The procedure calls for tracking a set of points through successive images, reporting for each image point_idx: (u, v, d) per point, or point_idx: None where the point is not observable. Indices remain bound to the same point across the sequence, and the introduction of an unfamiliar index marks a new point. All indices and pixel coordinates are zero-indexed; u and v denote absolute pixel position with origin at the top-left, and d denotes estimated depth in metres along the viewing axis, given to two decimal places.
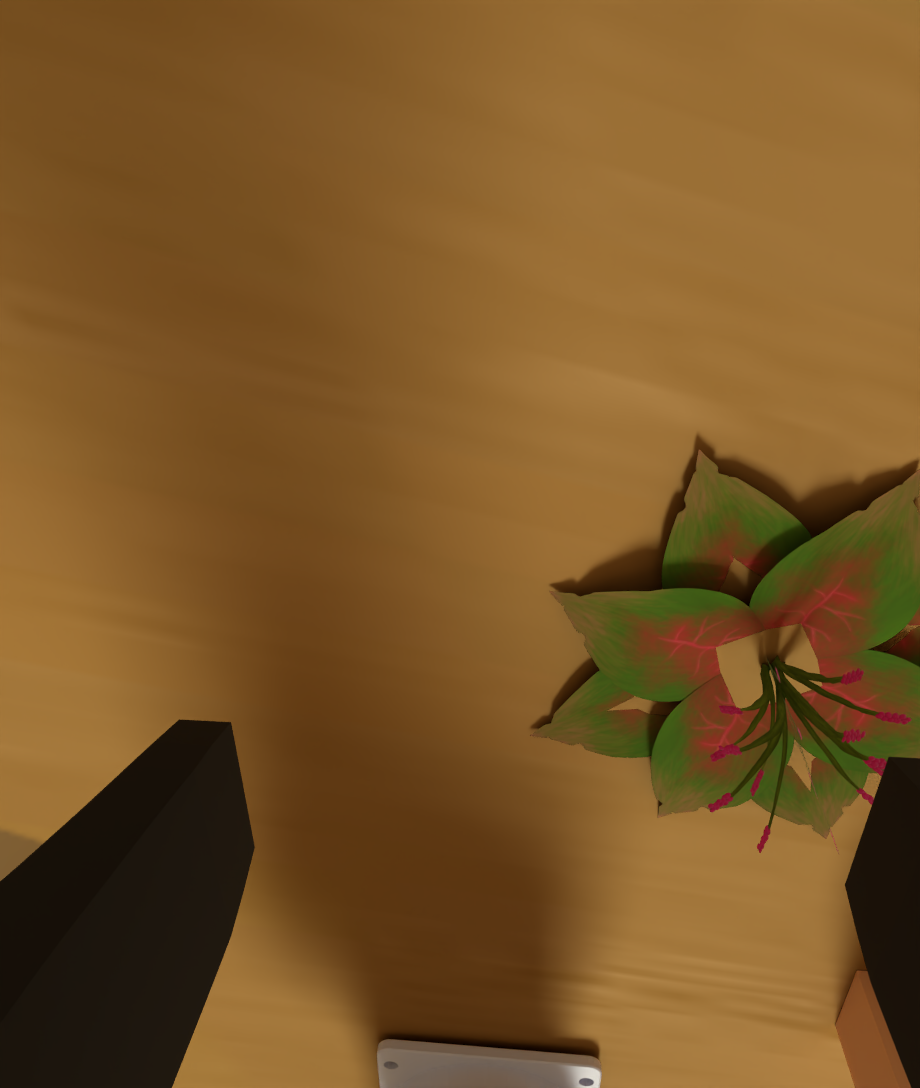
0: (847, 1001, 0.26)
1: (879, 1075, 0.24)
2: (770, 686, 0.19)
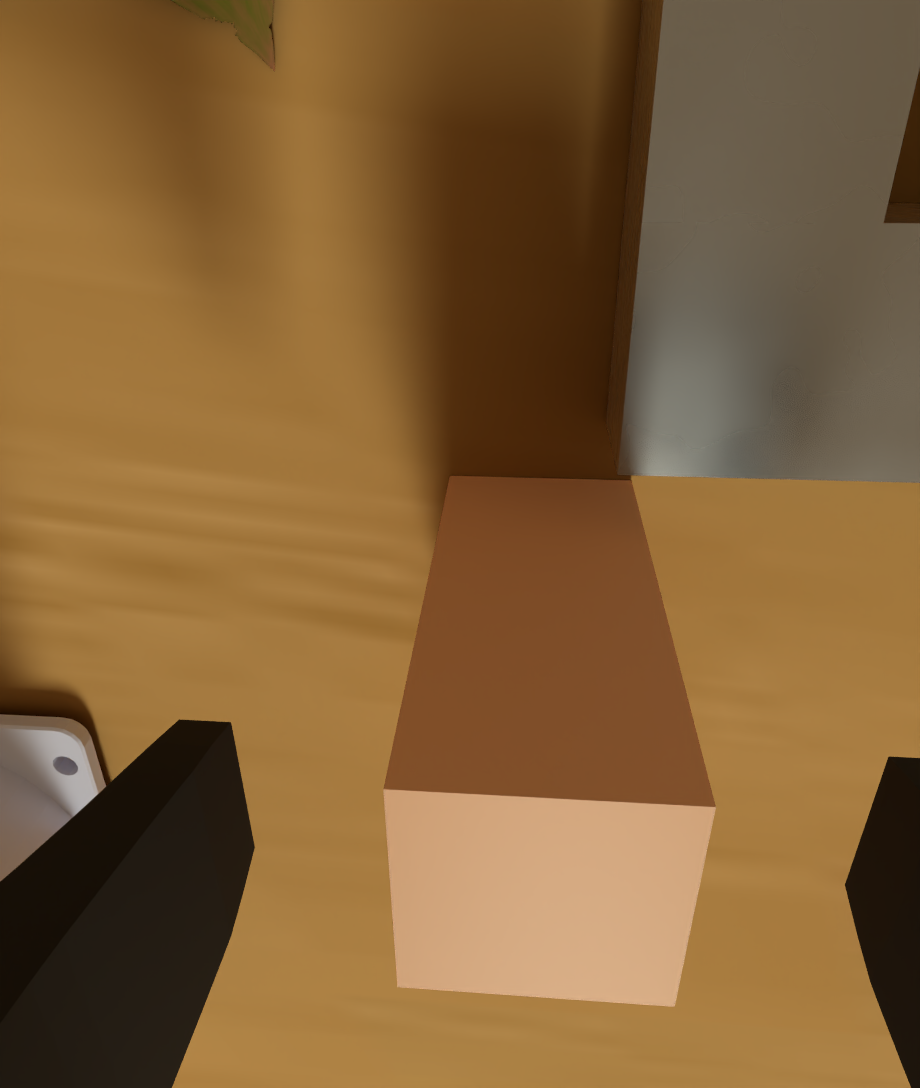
0: None
1: None
2: None
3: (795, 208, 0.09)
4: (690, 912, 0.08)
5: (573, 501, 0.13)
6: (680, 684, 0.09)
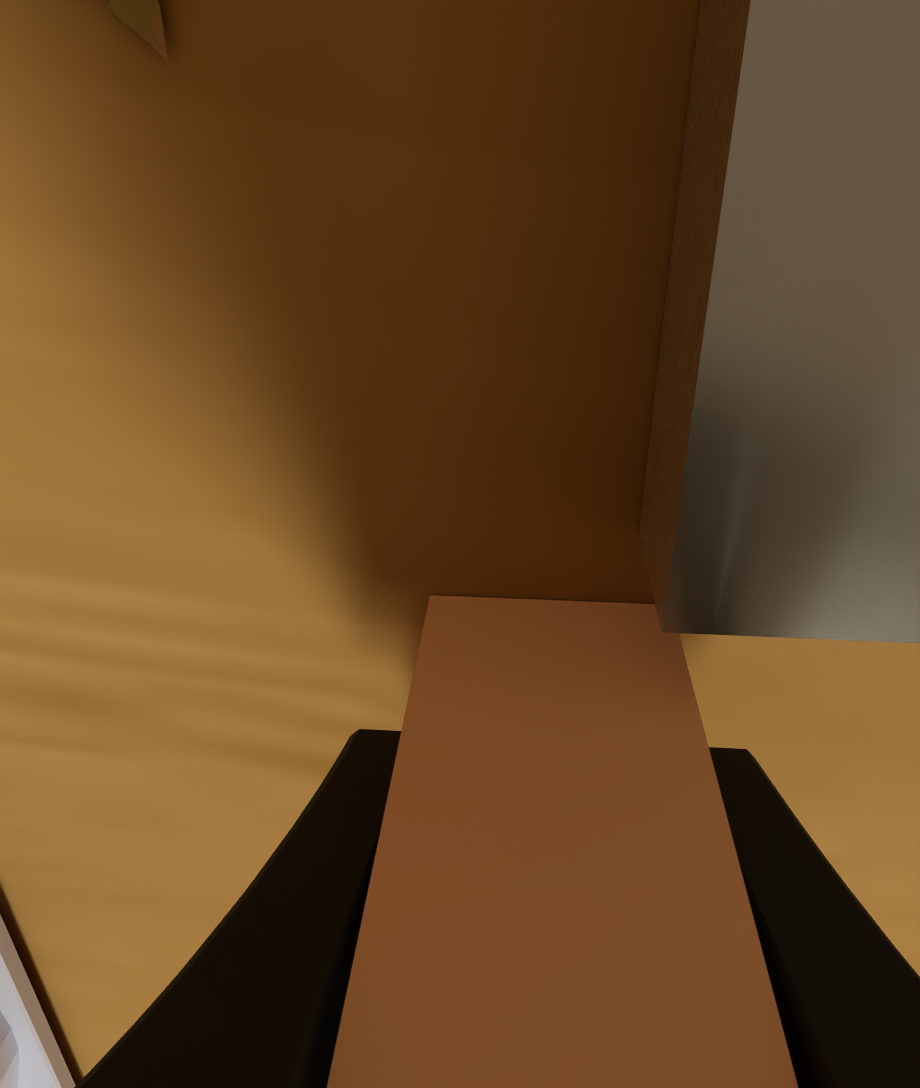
0: None
1: None
2: None
3: None
4: None
5: (595, 641, 0.09)
6: (781, 1042, 0.05)
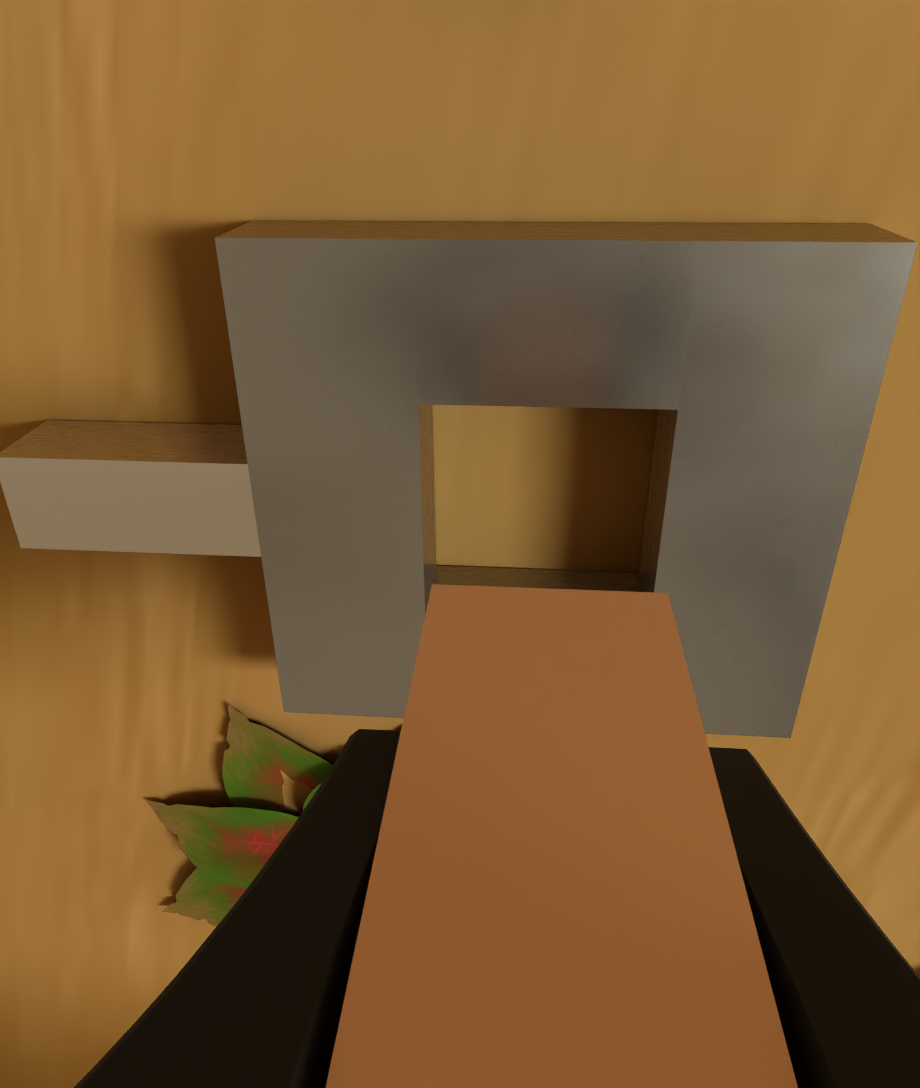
0: None
1: None
2: None
3: None
4: None
5: (593, 628, 0.10)
6: (770, 1004, 0.06)
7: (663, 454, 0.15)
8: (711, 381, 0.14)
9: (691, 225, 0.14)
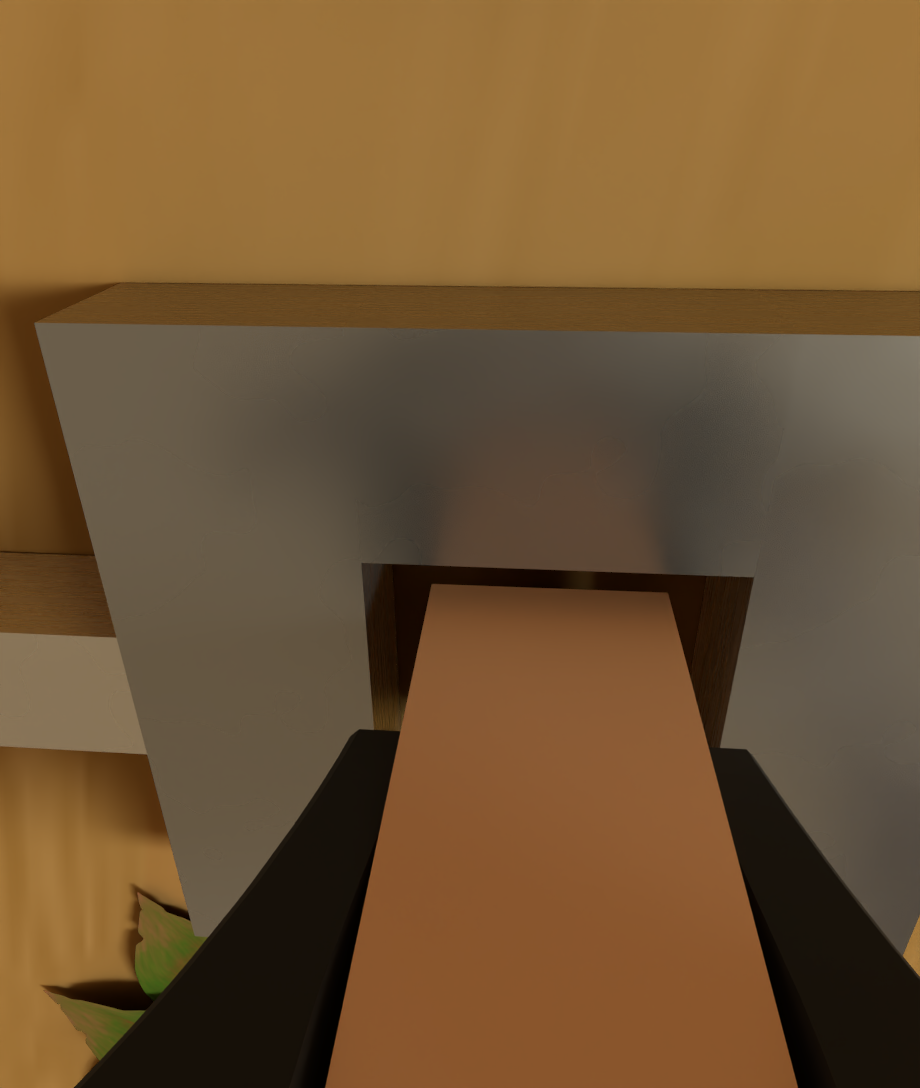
0: None
1: None
2: None
3: None
4: None
5: (593, 628, 0.10)
6: (770, 1004, 0.06)
7: (723, 621, 0.10)
8: (808, 540, 0.09)
9: (773, 296, 0.09)
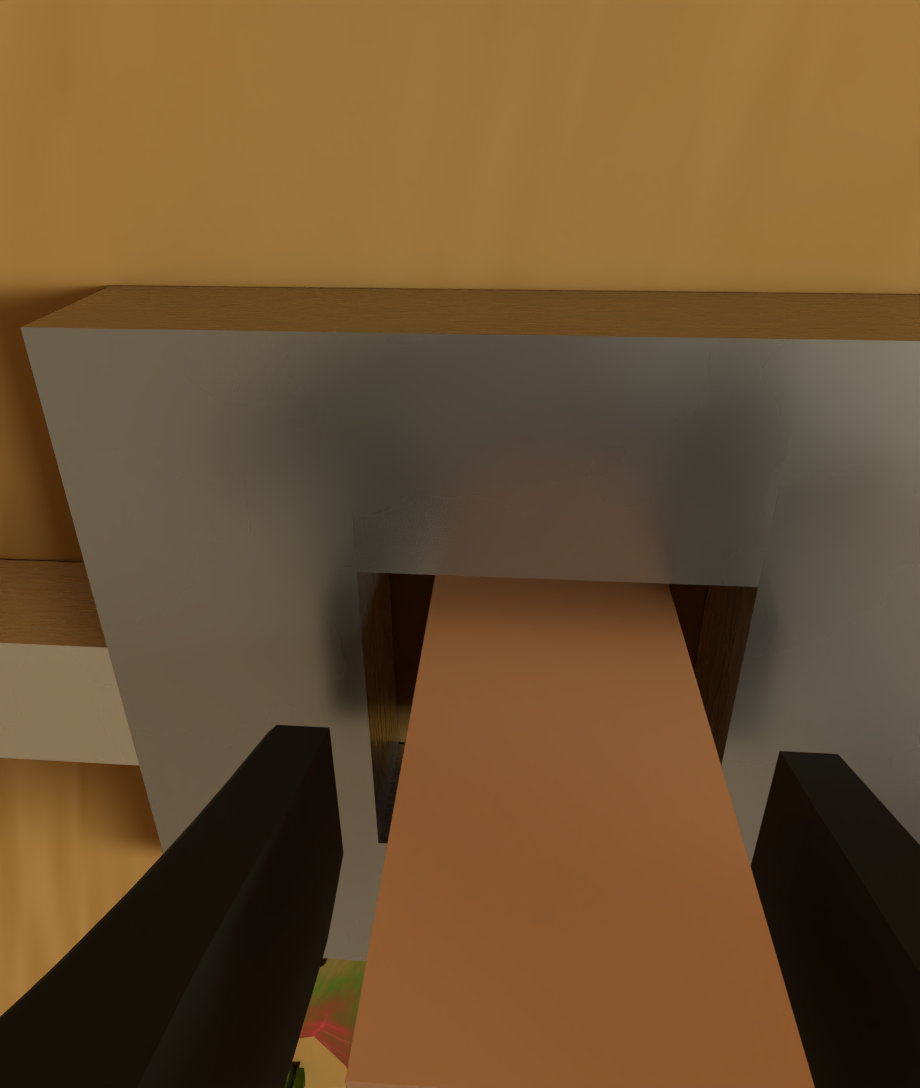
0: None
1: None
2: None
3: None
4: None
5: (591, 581, 0.10)
6: (749, 877, 0.06)
7: (726, 631, 0.10)
8: (813, 549, 0.09)
9: (778, 299, 0.09)
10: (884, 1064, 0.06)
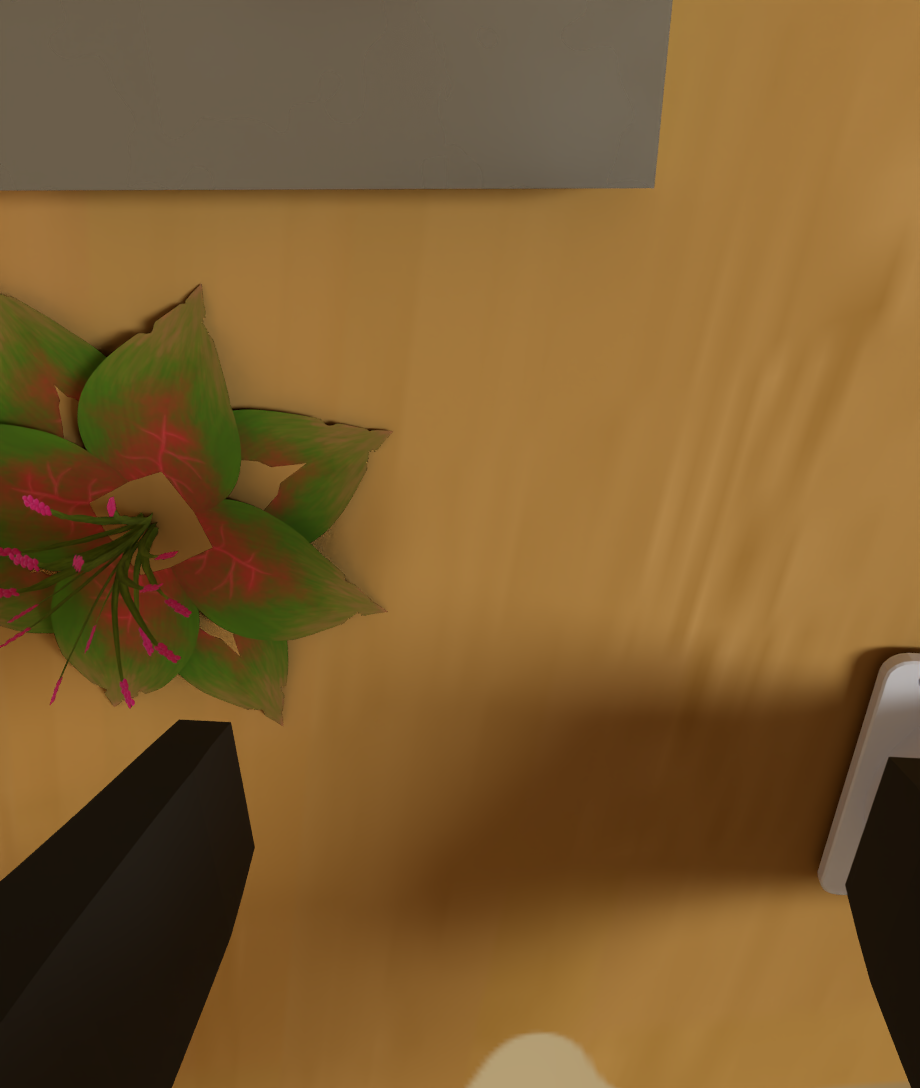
0: None
1: None
2: None
3: (434, 62, 0.12)
4: None
5: None
6: None
7: None
8: None
9: None
10: None
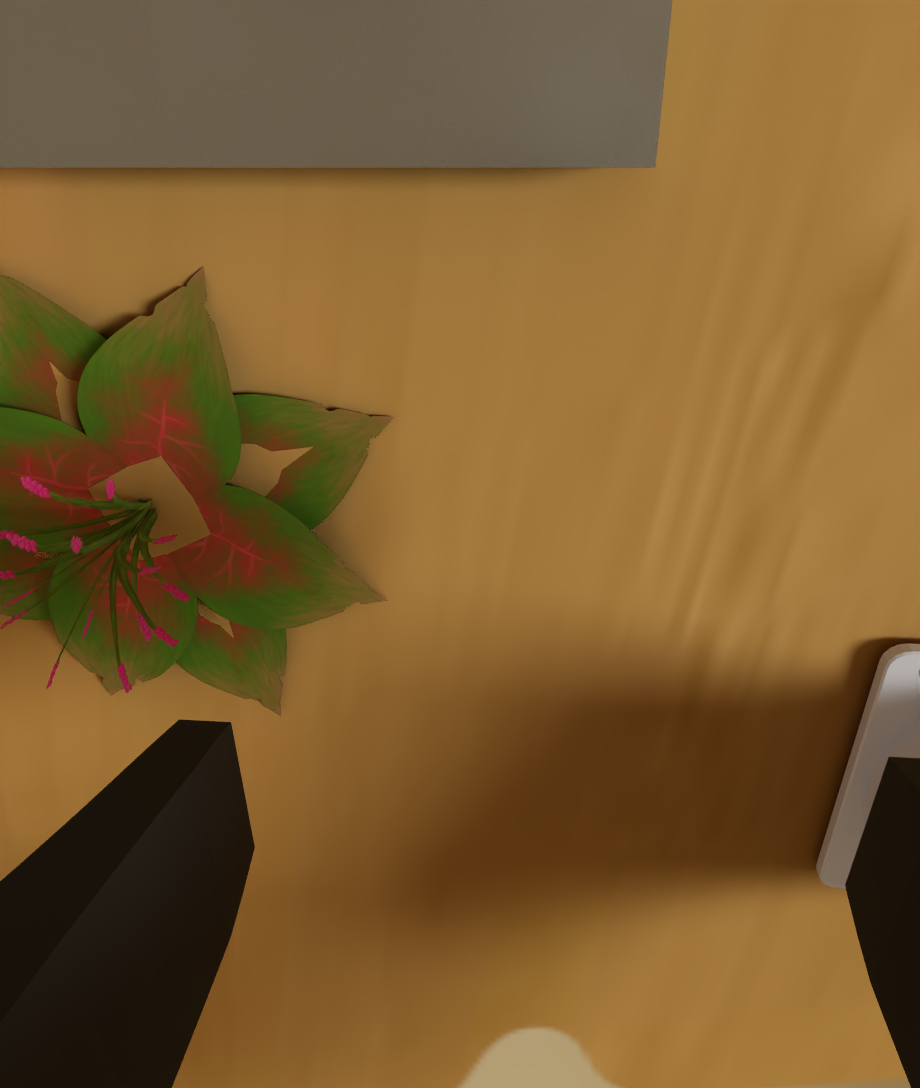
0: None
1: None
2: None
3: (434, 38, 0.12)
4: None
5: None
6: None
7: None
8: None
9: None
10: None
